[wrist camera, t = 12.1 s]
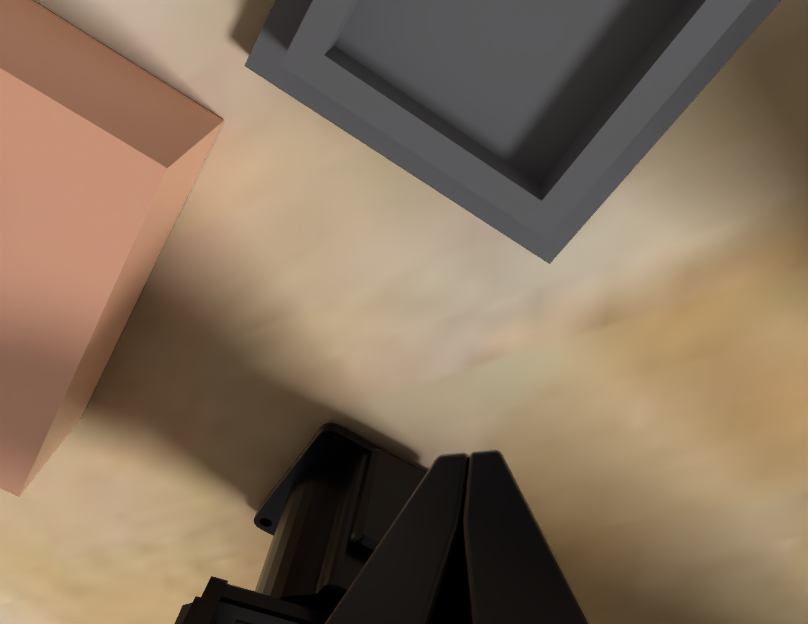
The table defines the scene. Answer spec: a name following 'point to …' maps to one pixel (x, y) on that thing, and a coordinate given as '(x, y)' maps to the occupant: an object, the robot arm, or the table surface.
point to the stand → (506, 91)
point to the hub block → (77, 217)
